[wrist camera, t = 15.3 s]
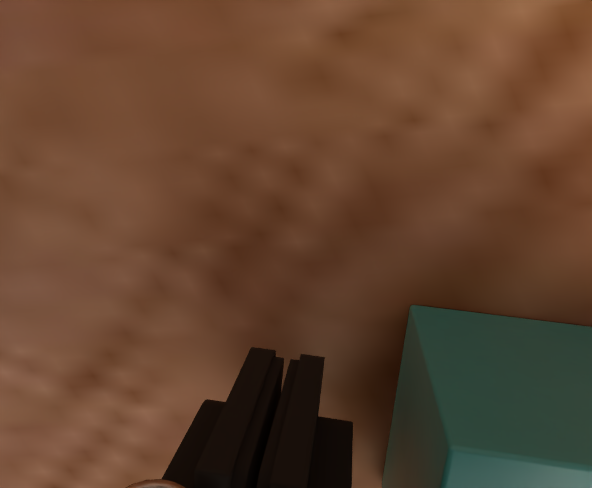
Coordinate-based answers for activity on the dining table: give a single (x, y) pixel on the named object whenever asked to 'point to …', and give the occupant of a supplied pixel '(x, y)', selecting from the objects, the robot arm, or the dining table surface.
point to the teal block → (491, 403)
